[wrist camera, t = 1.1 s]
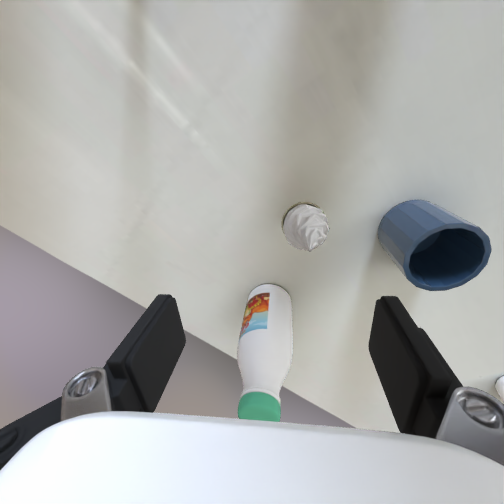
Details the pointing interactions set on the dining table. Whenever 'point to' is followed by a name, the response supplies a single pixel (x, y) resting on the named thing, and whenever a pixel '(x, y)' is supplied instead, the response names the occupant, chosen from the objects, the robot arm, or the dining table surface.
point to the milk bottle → (264, 352)
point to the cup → (500, 387)
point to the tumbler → (433, 245)
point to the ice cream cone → (305, 226)
